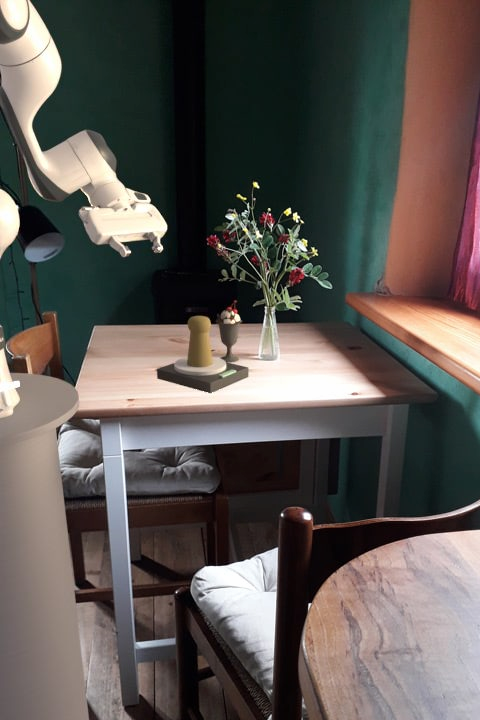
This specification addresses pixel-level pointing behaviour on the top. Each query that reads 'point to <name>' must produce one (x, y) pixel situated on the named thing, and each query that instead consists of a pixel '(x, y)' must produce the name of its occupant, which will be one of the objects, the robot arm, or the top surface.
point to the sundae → (229, 331)
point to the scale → (203, 374)
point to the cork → (199, 342)
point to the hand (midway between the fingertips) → (143, 253)
